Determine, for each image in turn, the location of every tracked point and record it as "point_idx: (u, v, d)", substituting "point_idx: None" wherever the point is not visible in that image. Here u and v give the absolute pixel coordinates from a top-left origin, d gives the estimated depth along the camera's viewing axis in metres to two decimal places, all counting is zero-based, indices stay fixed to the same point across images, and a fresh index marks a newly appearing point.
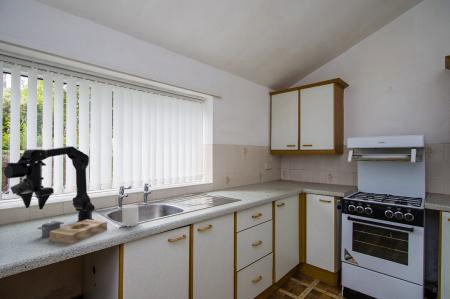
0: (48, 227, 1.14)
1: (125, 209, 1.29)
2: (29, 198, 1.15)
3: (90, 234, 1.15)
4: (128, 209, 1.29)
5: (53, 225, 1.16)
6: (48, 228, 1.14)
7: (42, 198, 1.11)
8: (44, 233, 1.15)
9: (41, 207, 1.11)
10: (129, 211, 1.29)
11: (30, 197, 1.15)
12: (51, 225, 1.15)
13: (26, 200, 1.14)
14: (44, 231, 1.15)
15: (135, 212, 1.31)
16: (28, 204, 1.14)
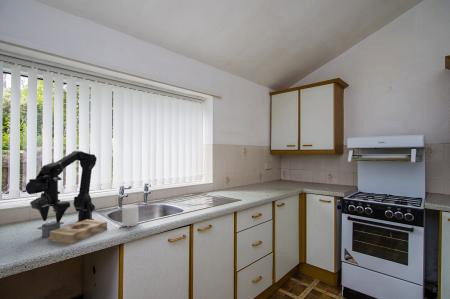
0: (48, 227, 1.14)
1: (125, 209, 1.29)
2: (46, 211, 1.20)
3: (90, 234, 1.15)
4: (128, 209, 1.29)
5: (53, 225, 1.16)
6: (48, 228, 1.14)
7: (59, 212, 1.15)
8: (44, 233, 1.15)
9: (58, 220, 1.16)
10: (129, 211, 1.29)
11: (47, 210, 1.20)
12: (51, 225, 1.15)
13: (43, 214, 1.18)
14: (44, 231, 1.14)
15: (135, 212, 1.31)
16: (45, 217, 1.19)
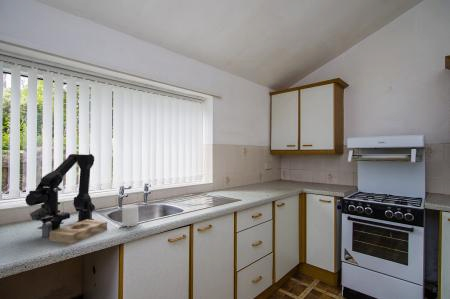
0: (48, 227, 1.14)
1: (125, 209, 1.29)
2: None
3: (90, 234, 1.15)
4: (128, 209, 1.29)
5: None
6: (48, 228, 1.14)
7: (56, 222, 1.16)
8: (44, 233, 1.15)
9: None
10: (129, 211, 1.29)
11: (50, 221, 1.19)
12: (51, 225, 1.15)
13: None
14: (44, 231, 1.15)
15: (135, 212, 1.31)
16: None
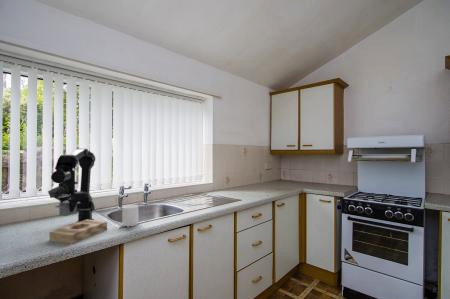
0: (65, 205, 1.14)
1: (125, 209, 1.29)
2: None
3: (90, 234, 1.15)
4: (128, 209, 1.29)
5: None
6: (65, 206, 1.14)
7: (73, 201, 1.16)
8: (61, 212, 1.15)
9: (71, 210, 1.16)
10: (129, 211, 1.29)
11: None
12: (68, 204, 1.15)
13: None
14: (61, 210, 1.15)
15: (135, 212, 1.31)
16: None
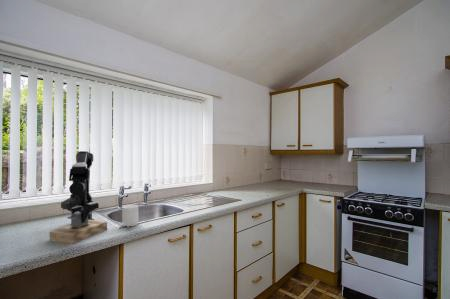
0: (77, 217, 1.15)
1: (125, 209, 1.29)
2: None
3: (90, 234, 1.15)
4: (128, 209, 1.29)
5: None
6: (77, 218, 1.15)
7: (85, 212, 1.17)
8: (73, 223, 1.15)
9: (83, 221, 1.17)
10: (129, 211, 1.29)
11: (79, 211, 1.20)
12: (80, 215, 1.16)
13: None
14: (73, 221, 1.15)
15: (135, 212, 1.31)
16: None
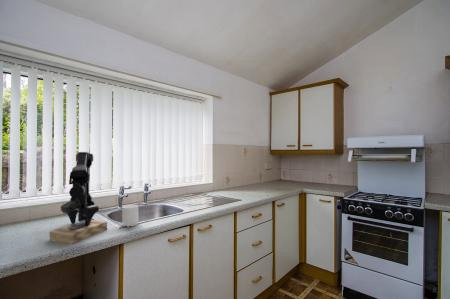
0: (78, 226, 1.15)
1: (125, 209, 1.29)
2: (74, 215, 1.20)
3: (90, 234, 1.15)
4: (128, 209, 1.29)
5: (82, 225, 1.17)
6: (78, 227, 1.15)
7: (88, 216, 1.16)
8: None
9: (87, 224, 1.16)
10: (129, 211, 1.29)
11: (75, 214, 1.21)
12: (80, 225, 1.16)
13: (72, 218, 1.19)
14: None
15: (135, 212, 1.31)
16: (74, 221, 1.20)
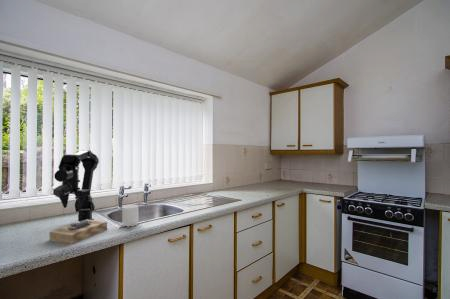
0: (78, 226, 1.15)
1: (125, 209, 1.29)
2: (66, 199, 1.25)
3: (90, 234, 1.15)
4: (128, 209, 1.29)
5: (82, 224, 1.17)
6: (78, 227, 1.15)
7: (80, 199, 1.21)
8: None
9: (79, 207, 1.21)
10: (129, 211, 1.29)
11: (67, 198, 1.26)
12: (80, 224, 1.16)
13: (64, 201, 1.24)
14: None
15: (135, 212, 1.31)
16: (66, 204, 1.24)
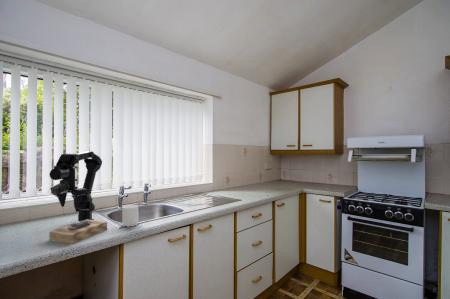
0: (78, 226, 1.15)
1: (125, 209, 1.29)
2: (64, 198, 1.27)
3: (90, 234, 1.15)
4: (128, 209, 1.29)
5: (82, 224, 1.17)
6: (78, 227, 1.15)
7: (77, 198, 1.22)
8: None
9: (76, 206, 1.22)
10: (129, 211, 1.29)
11: (65, 197, 1.27)
12: (80, 224, 1.16)
13: (61, 200, 1.25)
14: None
15: (135, 212, 1.31)
16: (63, 203, 1.26)
